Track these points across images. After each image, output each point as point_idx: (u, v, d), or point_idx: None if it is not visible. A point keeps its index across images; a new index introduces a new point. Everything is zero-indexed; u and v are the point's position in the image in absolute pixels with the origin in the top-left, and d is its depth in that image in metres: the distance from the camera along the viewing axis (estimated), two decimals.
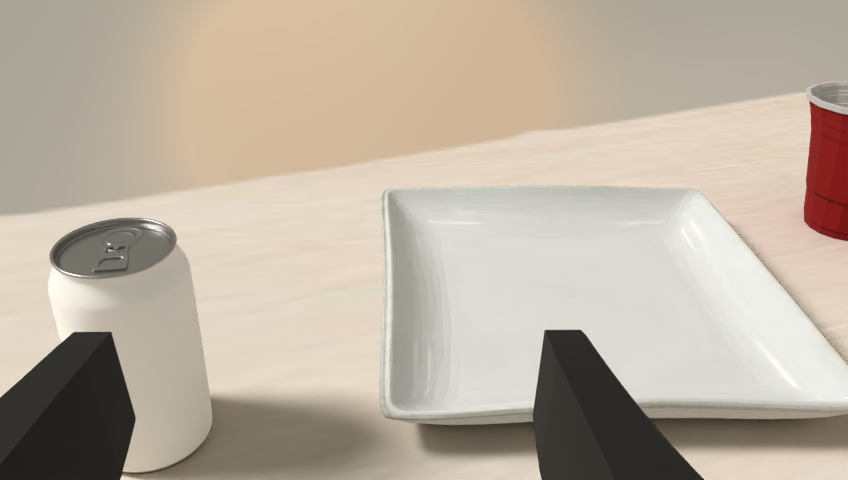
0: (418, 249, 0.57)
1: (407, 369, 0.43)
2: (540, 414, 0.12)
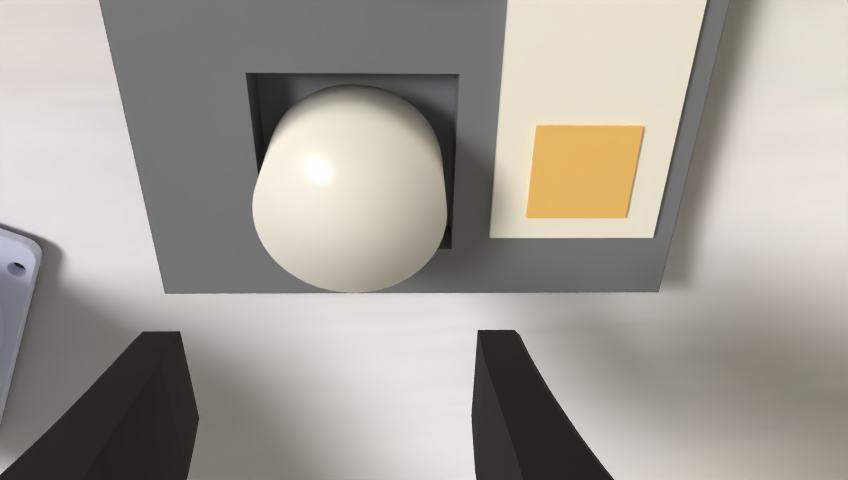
0: None
1: None
2: (475, 414, 0.12)
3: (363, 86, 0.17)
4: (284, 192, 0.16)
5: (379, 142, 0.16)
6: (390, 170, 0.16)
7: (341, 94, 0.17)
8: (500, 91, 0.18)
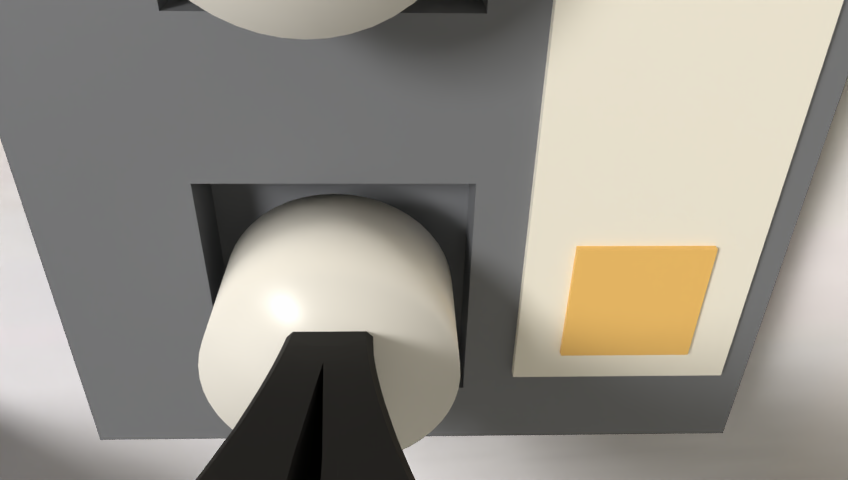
0: None
1: None
2: None
3: (348, 197, 0.13)
4: (241, 350, 0.12)
5: (368, 290, 0.12)
6: (383, 323, 0.12)
7: (319, 211, 0.13)
8: (530, 205, 0.13)
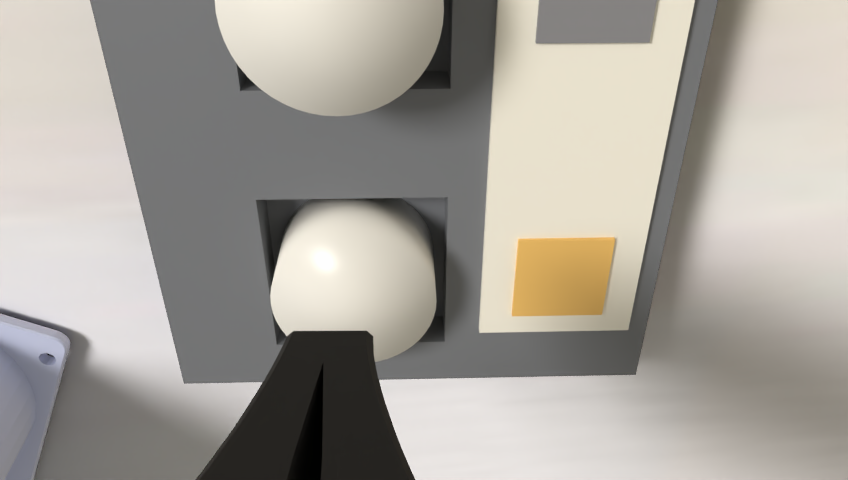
0: None
1: None
2: None
3: None
4: (297, 285, 0.19)
5: (377, 244, 0.19)
6: (387, 265, 0.19)
7: None
8: (485, 210, 0.20)
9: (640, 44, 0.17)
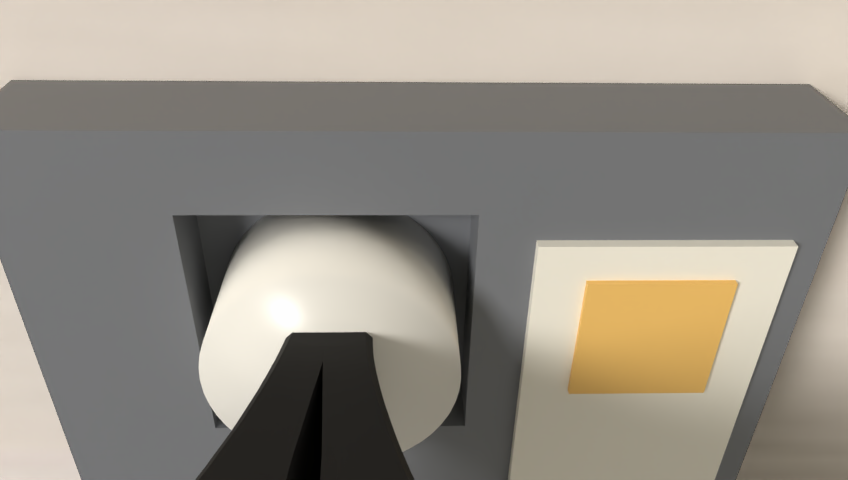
0: None
1: None
2: None
3: None
4: None
5: None
6: None
7: None
8: None
9: None
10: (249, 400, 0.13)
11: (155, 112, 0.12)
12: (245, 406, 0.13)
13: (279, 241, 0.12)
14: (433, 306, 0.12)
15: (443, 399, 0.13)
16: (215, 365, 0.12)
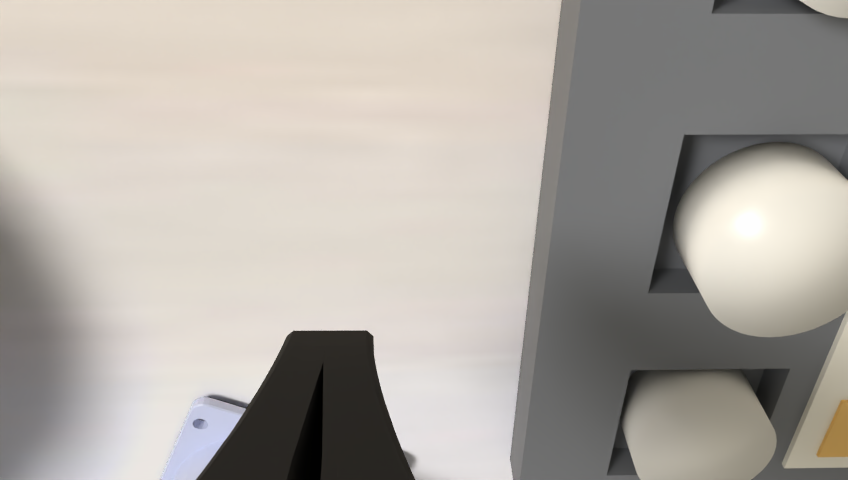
0: None
1: None
2: None
3: None
4: (664, 441, 0.23)
5: (741, 412, 0.22)
6: (743, 427, 0.23)
7: None
8: (817, 378, 0.23)
9: None
10: None
11: None
12: None
13: None
14: None
15: None
16: None
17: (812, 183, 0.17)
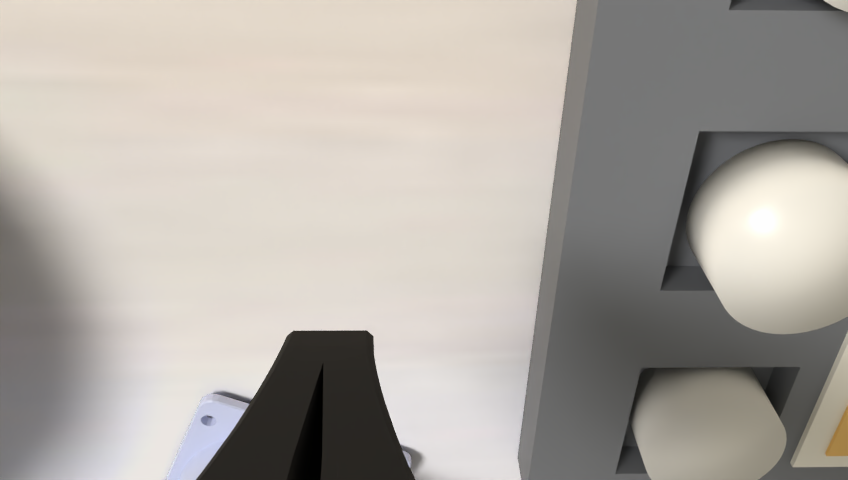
0: None
1: None
2: None
3: None
4: (674, 439, 0.23)
5: (751, 410, 0.22)
6: (753, 425, 0.23)
7: None
8: (827, 376, 0.23)
9: None
10: None
11: None
12: None
13: None
14: None
15: None
16: None
17: (828, 180, 0.17)
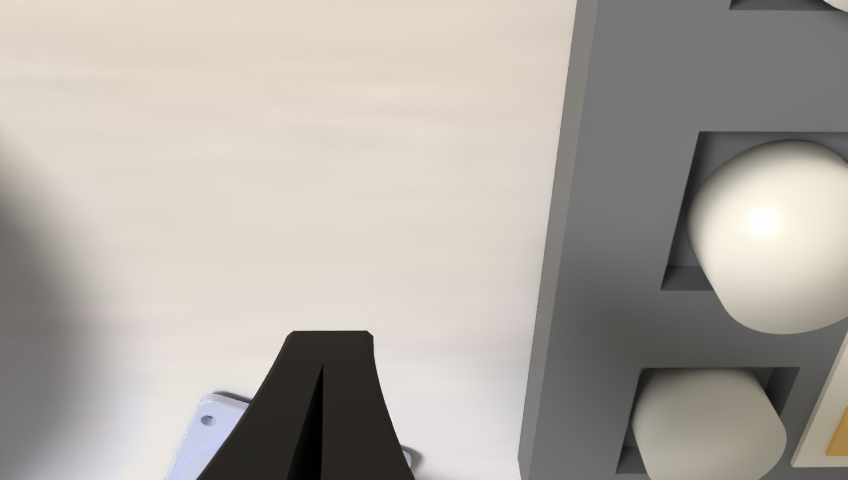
0: None
1: None
2: None
3: None
4: (674, 439, 0.23)
5: (751, 410, 0.22)
6: (753, 425, 0.23)
7: None
8: (827, 376, 0.23)
9: None
10: None
11: None
12: None
13: None
14: None
15: None
16: None
17: (828, 180, 0.17)
